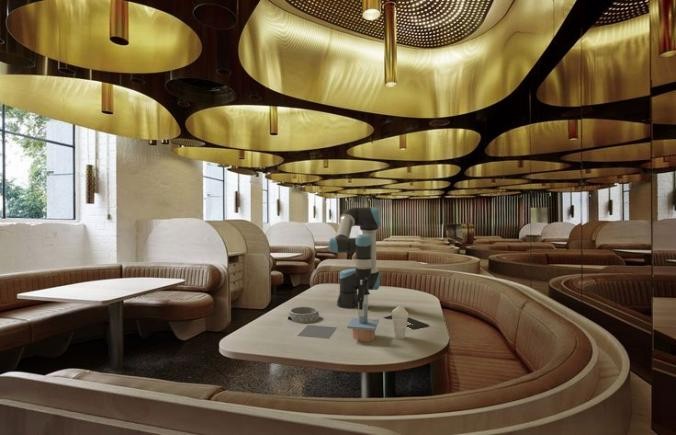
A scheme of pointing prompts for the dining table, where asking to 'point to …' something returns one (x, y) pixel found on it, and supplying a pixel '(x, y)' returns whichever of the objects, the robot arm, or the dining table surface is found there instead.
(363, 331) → the bowl
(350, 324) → the lid
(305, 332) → the mat
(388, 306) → the dining table surface
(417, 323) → the black flat irregular plate
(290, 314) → the dog bowl
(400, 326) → the soft serve ice cream cone
